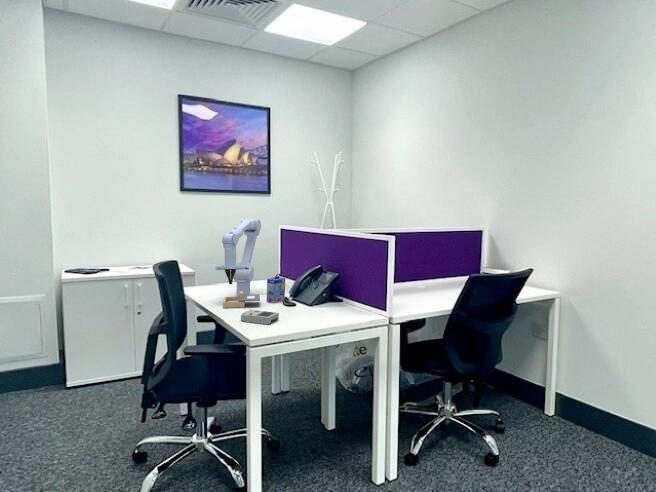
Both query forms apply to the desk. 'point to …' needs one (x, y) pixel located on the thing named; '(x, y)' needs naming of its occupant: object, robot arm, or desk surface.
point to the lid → (249, 297)
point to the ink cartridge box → (275, 289)
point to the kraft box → (233, 303)
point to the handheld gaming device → (259, 316)
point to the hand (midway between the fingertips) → (230, 284)
